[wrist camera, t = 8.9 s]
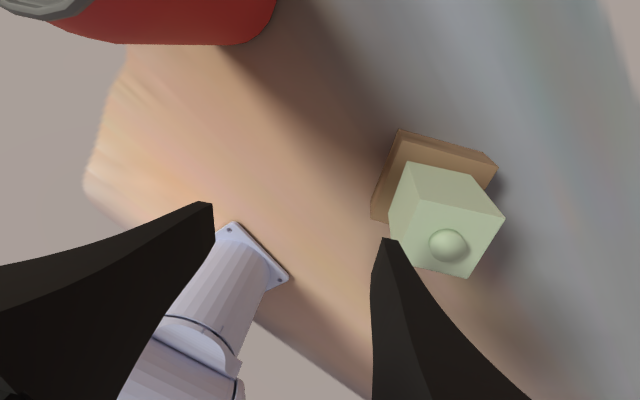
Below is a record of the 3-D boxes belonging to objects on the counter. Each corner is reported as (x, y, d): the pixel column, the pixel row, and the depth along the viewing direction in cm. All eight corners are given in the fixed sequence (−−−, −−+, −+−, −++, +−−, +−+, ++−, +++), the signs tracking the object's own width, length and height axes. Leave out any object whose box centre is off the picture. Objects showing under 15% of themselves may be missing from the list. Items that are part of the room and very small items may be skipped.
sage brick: (444, 226, 19) (470, 287, 14) (387, 213, 19) (394, 269, 14) (470, 174, 17) (511, 225, 12) (407, 160, 17) (422, 205, 12)
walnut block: (441, 219, 22) (451, 242, 19) (370, 198, 22) (370, 218, 20) (481, 150, 19) (498, 167, 16) (398, 127, 19) (402, 140, 17)
